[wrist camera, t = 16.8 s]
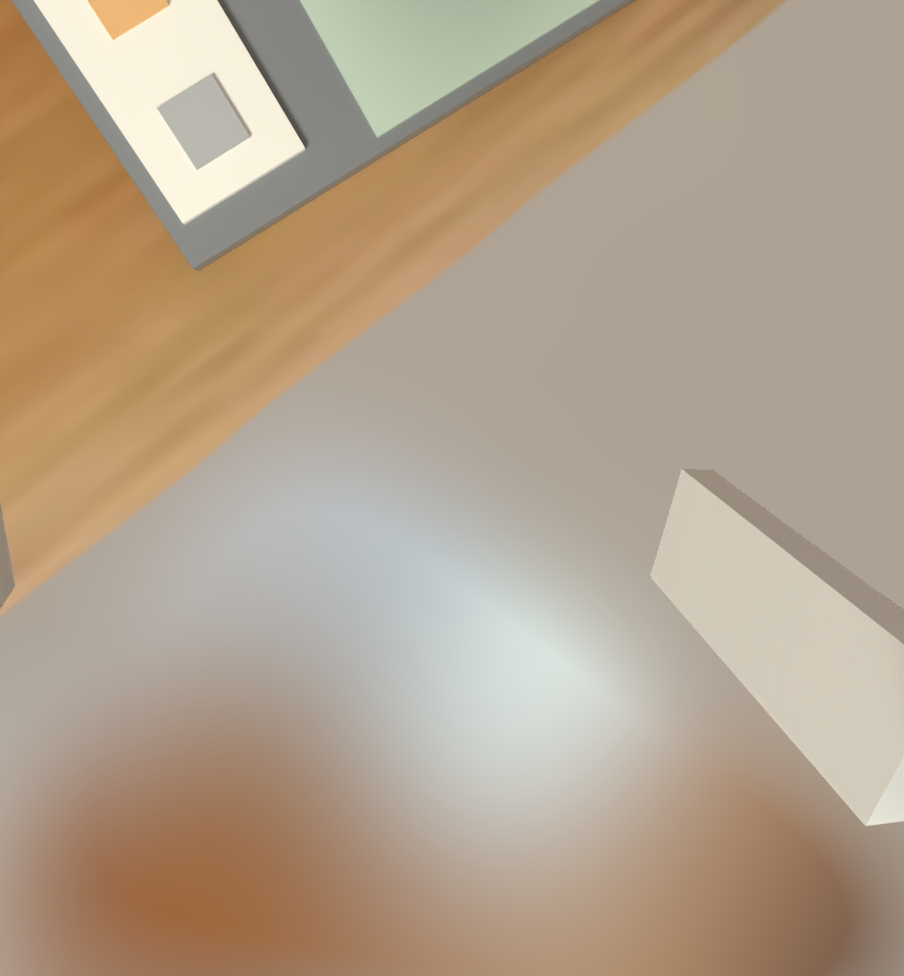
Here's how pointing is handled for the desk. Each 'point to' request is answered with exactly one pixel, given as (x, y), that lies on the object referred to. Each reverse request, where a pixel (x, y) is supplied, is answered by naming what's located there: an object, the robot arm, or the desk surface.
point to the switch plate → (280, 90)
